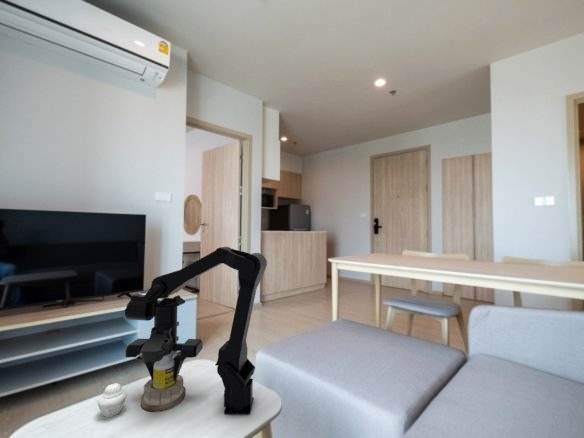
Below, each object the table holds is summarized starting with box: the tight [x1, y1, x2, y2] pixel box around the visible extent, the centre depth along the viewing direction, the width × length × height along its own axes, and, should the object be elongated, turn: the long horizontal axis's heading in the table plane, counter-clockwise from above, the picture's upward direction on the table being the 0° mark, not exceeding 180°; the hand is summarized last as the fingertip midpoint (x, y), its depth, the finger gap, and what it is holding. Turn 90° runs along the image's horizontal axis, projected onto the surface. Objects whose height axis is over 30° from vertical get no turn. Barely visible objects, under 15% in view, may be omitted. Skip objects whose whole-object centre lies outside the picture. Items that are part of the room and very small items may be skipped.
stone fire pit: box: [140, 374, 187, 413], centre depth 74 cm, size 11×11×4 cm
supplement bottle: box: [153, 351, 175, 390], centre depth 74 cm, size 5×5×10 cm
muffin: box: [96, 382, 128, 418], centre depth 68 cm, size 6×6×7 cm
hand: (164, 380), depth 74 cm, fingers closed on supplement bottle, 5 cm apart
